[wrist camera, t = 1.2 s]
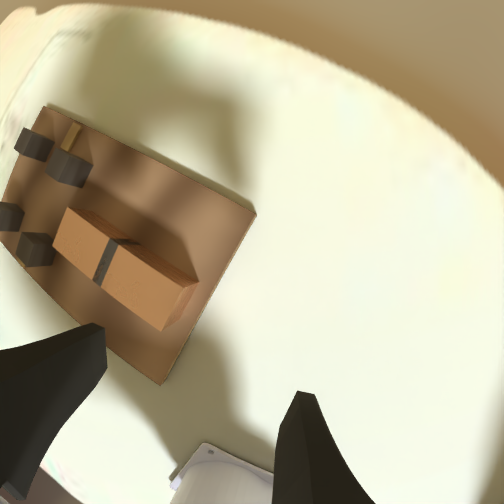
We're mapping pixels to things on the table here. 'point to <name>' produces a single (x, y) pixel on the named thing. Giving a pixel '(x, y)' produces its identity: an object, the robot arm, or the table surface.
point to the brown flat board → (122, 217)
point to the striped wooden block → (124, 268)
